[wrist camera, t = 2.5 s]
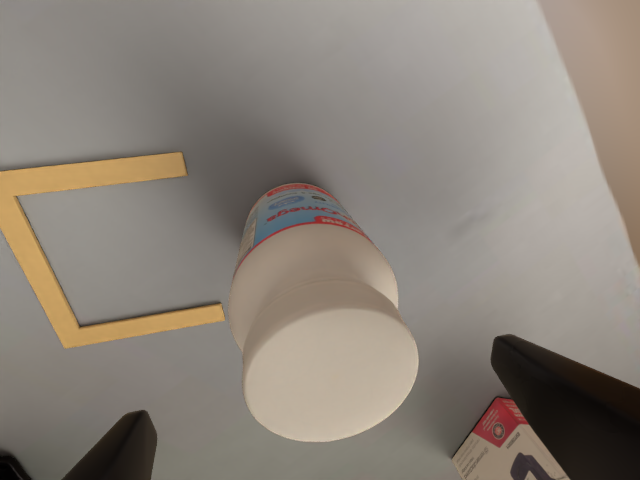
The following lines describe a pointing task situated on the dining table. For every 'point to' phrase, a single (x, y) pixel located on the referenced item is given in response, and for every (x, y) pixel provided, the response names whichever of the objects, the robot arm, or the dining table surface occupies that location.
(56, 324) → the tape outline
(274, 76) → the dining table surface
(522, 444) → the ink box
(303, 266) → the pill bottle
